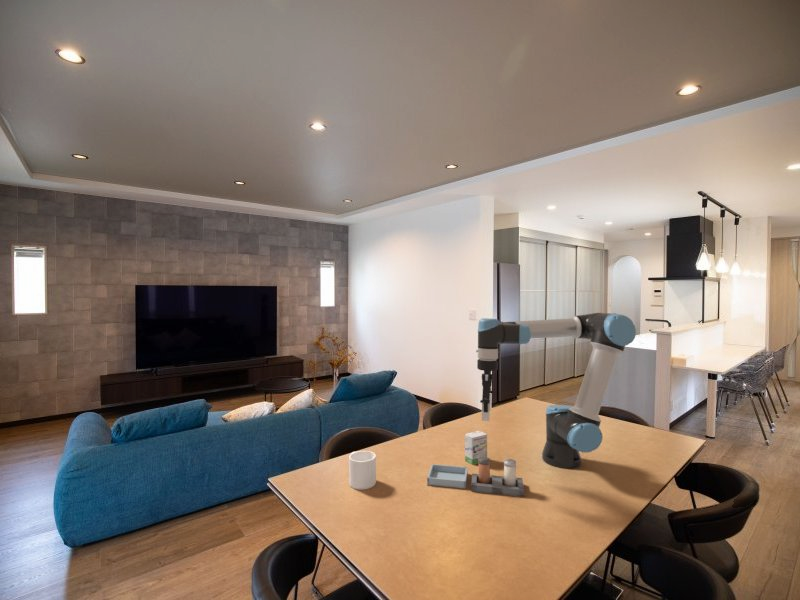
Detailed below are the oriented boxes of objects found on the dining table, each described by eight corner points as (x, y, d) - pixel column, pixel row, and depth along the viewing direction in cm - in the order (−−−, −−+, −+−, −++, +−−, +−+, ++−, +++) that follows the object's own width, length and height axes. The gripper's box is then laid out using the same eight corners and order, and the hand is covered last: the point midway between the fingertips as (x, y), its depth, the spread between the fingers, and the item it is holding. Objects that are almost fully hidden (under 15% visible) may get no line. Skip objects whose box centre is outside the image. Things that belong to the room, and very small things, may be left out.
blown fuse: (490, 484, 141) (490, 457, 141) (490, 489, 136) (490, 462, 136) (478, 483, 141) (478, 456, 141) (478, 488, 137) (478, 461, 137)
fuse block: (522, 485, 140) (522, 478, 140) (524, 497, 132) (524, 490, 132) (472, 480, 144) (472, 473, 144) (471, 492, 136) (471, 484, 136)
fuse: (515, 486, 139) (515, 459, 139) (516, 492, 134) (516, 464, 134) (503, 485, 139) (503, 458, 139) (504, 491, 135) (504, 463, 135)
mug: (381, 484, 142) (380, 457, 142) (357, 493, 136) (357, 464, 136) (363, 472, 152) (363, 446, 152) (341, 479, 146) (340, 452, 146)
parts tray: (467, 474, 149) (467, 467, 149) (465, 489, 137) (465, 481, 137) (431, 471, 152) (431, 464, 152) (427, 486, 141) (427, 477, 141)
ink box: (472, 466, 157) (472, 437, 157) (464, 461, 161) (464, 433, 161) (488, 461, 161) (487, 433, 161) (480, 457, 165) (479, 430, 165)
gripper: (479, 354, 158) (478, 405, 158) (475, 363, 134) (473, 424, 134) (498, 355, 156) (497, 407, 156) (497, 365, 132) (495, 426, 132)
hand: (486, 415), depth 145 cm, fingers open, 13 cm apart
